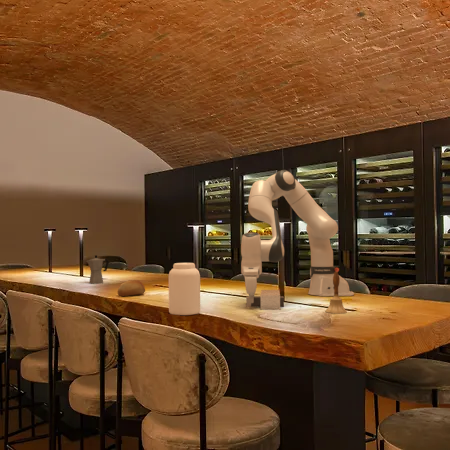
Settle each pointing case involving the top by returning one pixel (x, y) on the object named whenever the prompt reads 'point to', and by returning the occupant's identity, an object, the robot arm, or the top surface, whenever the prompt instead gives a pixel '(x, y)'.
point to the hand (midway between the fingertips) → (251, 302)
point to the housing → (270, 300)
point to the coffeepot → (96, 269)
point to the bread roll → (131, 288)
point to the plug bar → (258, 301)
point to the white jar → (184, 289)
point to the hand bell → (336, 298)
